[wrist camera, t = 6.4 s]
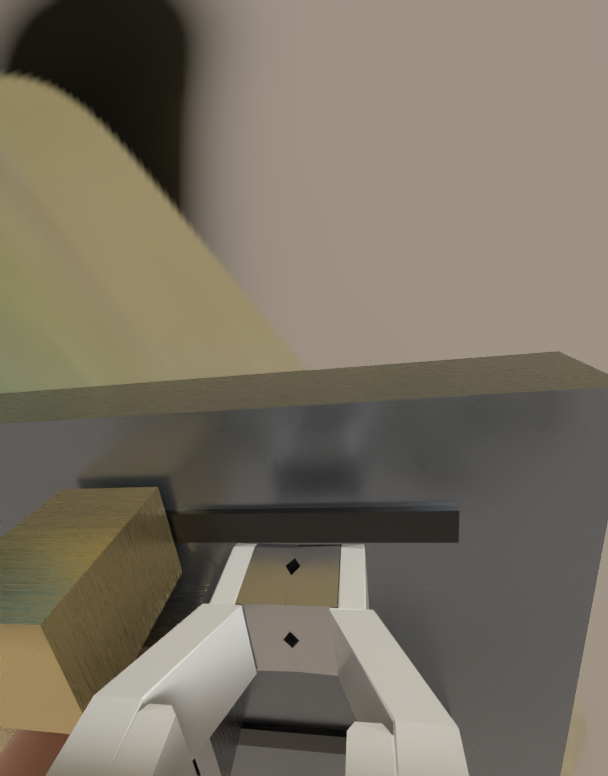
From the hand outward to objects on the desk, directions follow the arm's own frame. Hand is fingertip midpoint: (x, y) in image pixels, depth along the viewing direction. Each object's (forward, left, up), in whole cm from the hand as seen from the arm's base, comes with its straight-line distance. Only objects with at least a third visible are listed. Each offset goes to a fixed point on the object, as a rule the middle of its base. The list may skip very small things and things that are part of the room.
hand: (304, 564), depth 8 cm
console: (+3, +5, -5) cm, 7 cm away
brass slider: (+6, 0, -1) cm, 6 cm away
